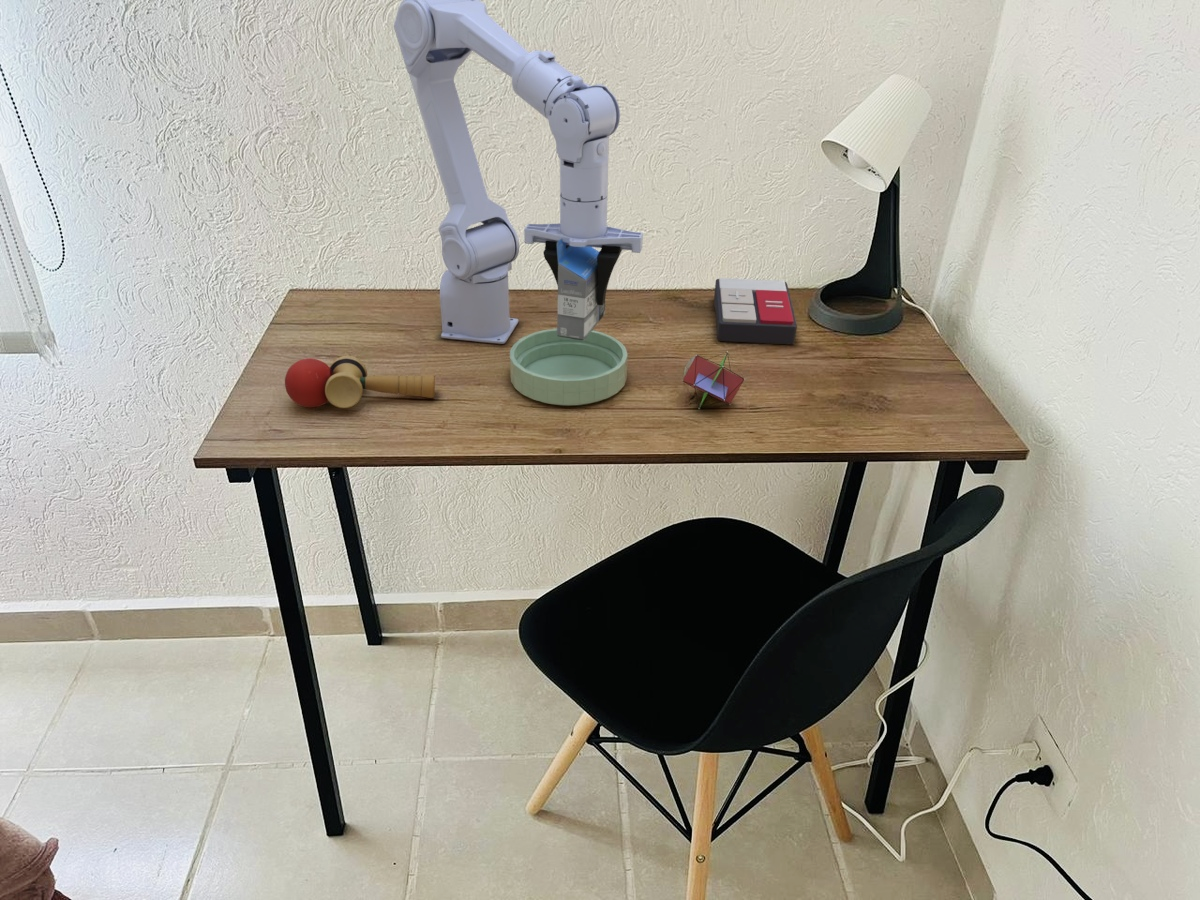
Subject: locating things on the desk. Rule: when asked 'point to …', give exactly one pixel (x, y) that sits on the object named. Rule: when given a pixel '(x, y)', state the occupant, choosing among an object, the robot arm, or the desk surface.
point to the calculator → (754, 311)
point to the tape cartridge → (577, 291)
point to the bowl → (568, 367)
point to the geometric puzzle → (712, 379)
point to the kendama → (347, 382)
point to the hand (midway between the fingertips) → (582, 300)
